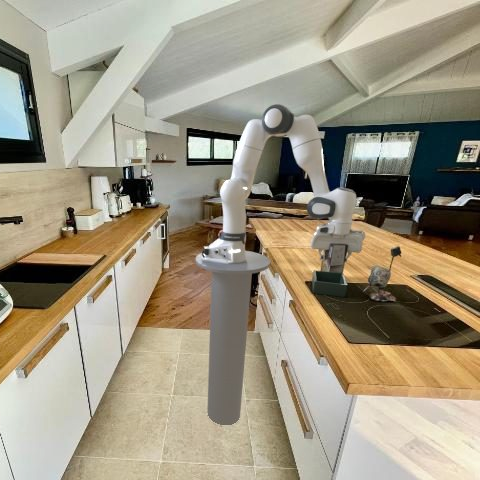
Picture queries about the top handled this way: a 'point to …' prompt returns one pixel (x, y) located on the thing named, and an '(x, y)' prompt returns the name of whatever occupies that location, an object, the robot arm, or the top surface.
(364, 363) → the top surface
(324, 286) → the open box frame
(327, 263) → the coffee box
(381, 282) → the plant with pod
